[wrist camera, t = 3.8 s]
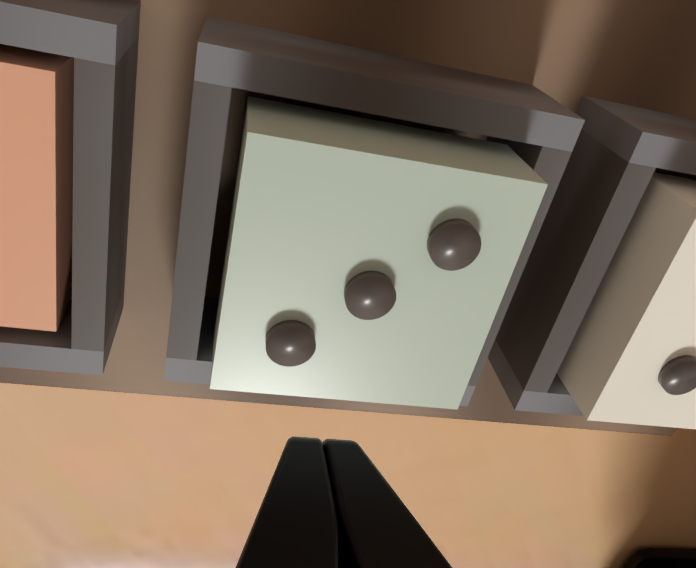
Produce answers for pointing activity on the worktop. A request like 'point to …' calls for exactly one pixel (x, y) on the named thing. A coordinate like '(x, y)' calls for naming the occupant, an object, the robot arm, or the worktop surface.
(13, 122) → the button terracotta
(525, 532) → the worktop surface
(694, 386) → the button cream
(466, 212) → the button sage
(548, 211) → the button panel
